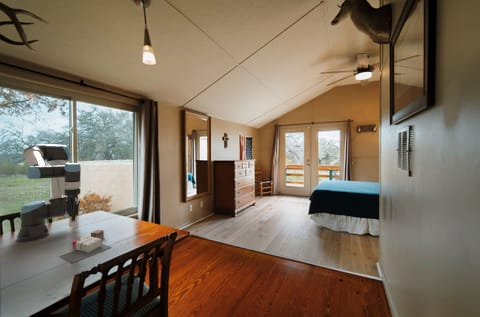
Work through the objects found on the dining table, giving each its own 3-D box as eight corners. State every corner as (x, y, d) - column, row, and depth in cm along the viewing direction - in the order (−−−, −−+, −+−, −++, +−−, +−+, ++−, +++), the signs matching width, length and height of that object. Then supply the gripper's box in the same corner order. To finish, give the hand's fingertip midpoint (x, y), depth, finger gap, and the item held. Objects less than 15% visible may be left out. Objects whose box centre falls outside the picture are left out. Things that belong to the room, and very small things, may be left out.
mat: (59, 256, 110) (59, 256, 110) (98, 242, 128) (98, 242, 128) (71, 263, 103) (71, 262, 103) (111, 247, 121) (111, 247, 121)
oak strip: (61, 255, 111) (61, 254, 111) (96, 243, 127) (96, 242, 127) (62, 256, 110) (62, 255, 110) (97, 243, 126) (97, 242, 126)
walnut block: (90, 239, 131) (90, 232, 131) (97, 236, 136) (97, 229, 136) (97, 240, 130) (97, 233, 130) (103, 237, 135) (103, 230, 135)
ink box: (71, 249, 116) (87, 253, 114) (72, 241, 116) (88, 245, 113) (86, 242, 125) (101, 246, 122) (86, 235, 124) (101, 238, 122)
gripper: (59, 187, 121) (59, 225, 122) (70, 190, 116) (70, 230, 117) (74, 186, 128) (74, 222, 129) (85, 188, 122) (84, 226, 123)
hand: (72, 225), depth 123 cm, fingers closed
